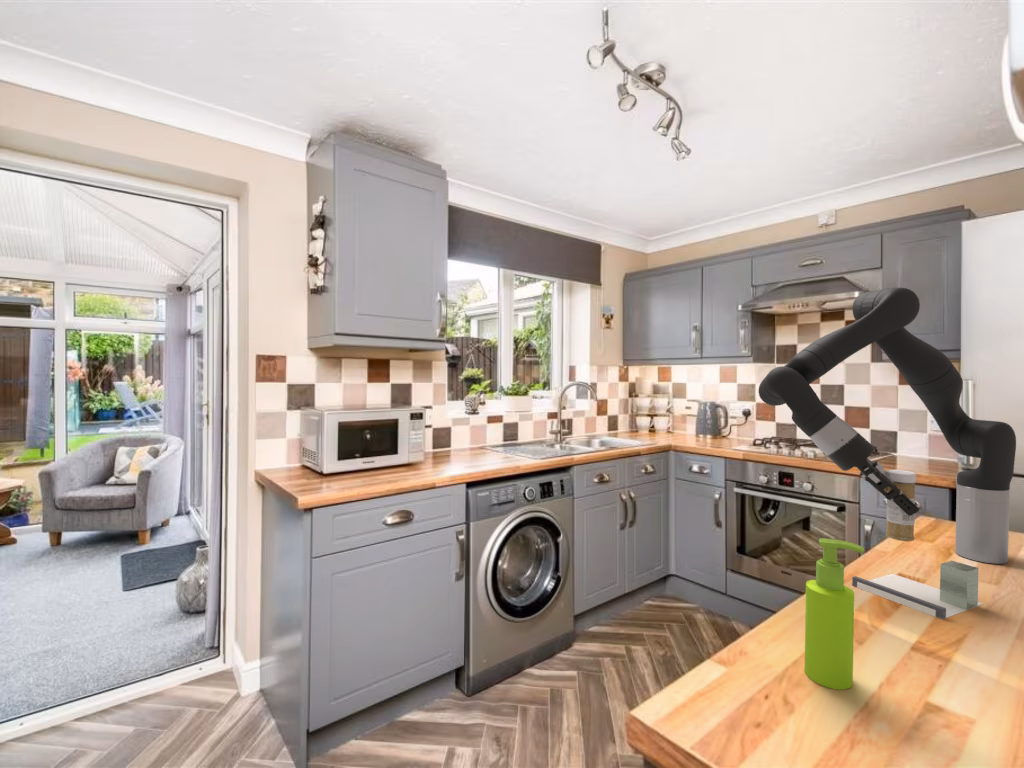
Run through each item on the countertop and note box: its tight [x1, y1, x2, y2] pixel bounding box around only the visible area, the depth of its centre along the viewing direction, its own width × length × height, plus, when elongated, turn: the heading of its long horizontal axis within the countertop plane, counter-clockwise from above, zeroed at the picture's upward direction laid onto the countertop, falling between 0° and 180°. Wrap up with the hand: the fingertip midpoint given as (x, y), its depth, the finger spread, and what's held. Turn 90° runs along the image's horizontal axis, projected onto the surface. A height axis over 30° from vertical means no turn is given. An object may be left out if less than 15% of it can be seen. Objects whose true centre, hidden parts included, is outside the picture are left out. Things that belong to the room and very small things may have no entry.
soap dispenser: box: [804, 537, 865, 691], centre depth 71 cm, size 6×7×20 cm
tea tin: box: [939, 560, 980, 611], centre depth 91 cm, size 4×4×7 cm
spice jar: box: [885, 469, 917, 542], centre depth 97 cm, size 5×5×13 cm
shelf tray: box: [851, 573, 984, 620], centre depth 95 cm, size 14×15×3 cm
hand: (913, 509), depth 96 cm, fingers closed on spice jar, 4 cm apart
